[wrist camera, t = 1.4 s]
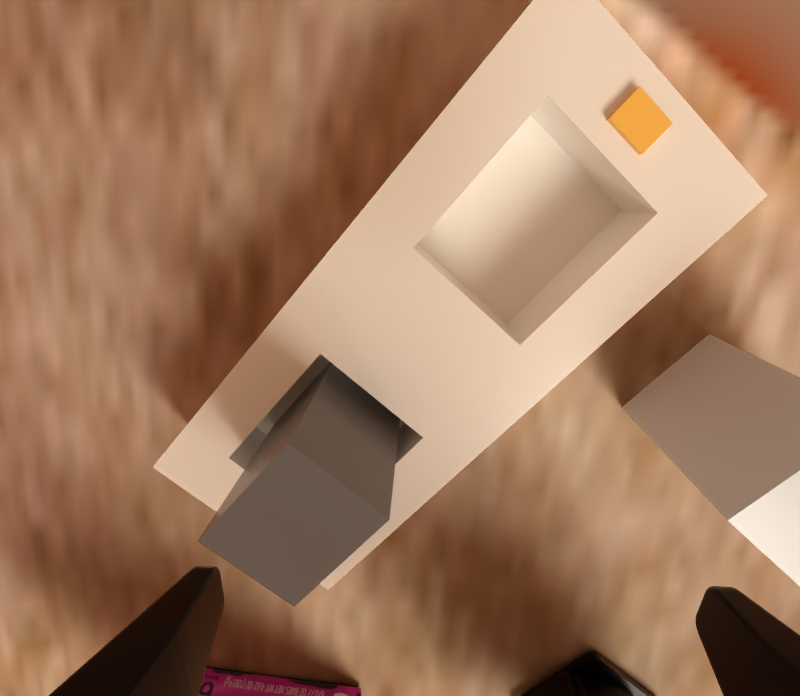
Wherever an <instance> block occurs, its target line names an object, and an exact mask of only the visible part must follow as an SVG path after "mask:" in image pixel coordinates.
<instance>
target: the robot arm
mask: <svg viewBox="0 0 800 696" xmlns="http://www.w3.org/2000/svg"><path fill="white" fill-rule="evenodd" d="M223 607H224V594H223V588H222V582H221V576H220V572H219V569H218V568H217V567H212V566H197V567H194V568H193V569H191V570H190V571H189V572H188V573H187V574H186V575H184V576H183V577H182V578H181V579H180V580H179V581H178V582H177V583H175V584H174V585H173V586H172V587H171V588H170V589H169V590H167V591H166V592H165V593H164V594H163V595H162V596H161V597H160V598H158V599H157V600H156V601H155V602H154V603H153V604H152V605H151V606H149V607H148V608H147V609H146V610H145V611H144V612H143V613H141V614H140V615H139V616H138V617H137V618H136V619H135V620H134V621H132V622H131V623H130V624H129V625H128V626H127V627H126V628H125V629H123V630H122V631H121V632H120V633H119V634H118V635H117V636H115V637H114V638H113V639H112V640H111V641H110V642H109V643H108V644H106V645H105V646H104V647H103V648H102V649H101V650H100V651H99V652H97V653H96V654H95V655H94V656H93V657H92V658H91V659H89V660H88V661H87V662H86V663H85V664H84V665H83V666H82V667H80V668H79V669H78V670H77V671H76V672H75V673H74V674H73V675H71V676H70V677H69V678H68V679H67V680H66V681H65V682H63V683H62V684H61V685H60V686H59V687H58V688H57V689H56V690H54V691H53V692H52V693H51V694H50V695H49V696H198V694H199V690H200V687H201V684H202V680H203V677H204V673H205V670H206V667H207V663H208V660H209V656H210V653H211V649H212V646H213V643H214V639H215V636H216V632H217V629H218V626H219V622H220V619H221V615H222V612H223ZM696 627H697V631H698V634H699V636H700V639H701V641H702V644H703V646H704V649H705V651H706V654H707V656H708V658H709V661H710V663H711V666H712V668H713V671H714V673H715V676H716V678H717V681H718V683H719V686H720V688H721V691H722V693H723V695H724V696H800V635H799V634H797V633H796V632H795V631H793V630H792V629H791V628H789V627H788V626H787V625H785V624H784V623H782V622H781V621H780V620H778V619H777V618H776V617H774V616H773V615H771V614H770V613H769V612H767V611H766V610H765V609H763V608H762V607H761V606H759V605H758V604H756V603H755V602H754V601H752V600H751V599H750V598H748V597H747V596H746V595H744V594H743V593H741V592H740V591H738V590H737V589H735V588H732V587H719V586H712V587H709V588H708V589H707V590H706V592H705V594H704V597H703V600H702V602H701V605H700V607H699V610H698V612H697V615H696ZM523 696H652V695H651V694H650V693H649V692H647V691H646V690H645V689H643V688H642V687H641V686H640V685H638V684H637V683H636V682H634V681H633V680H632V679H630V678H629V677H628V676H627V675H625V674H624V673H623V672H621V671H620V670H619V669H618V668H616V667H615V666H614V665H612V664H611V663H610V662H608V661H607V660H606V659H605V658H603V657H602V656H601V655H599V654H598V653H596V652H588V653H586V654H584V655H583V656H581V657H580V658H578V659H577V660H575V661H574V662H572V663H571V664H569V665H568V666H567V667H565V668H564V669H562V670H561V671H559V672H558V673H556V674H555V675H553V676H552V677H550V678H549V679H547V680H546V681H544V682H543V683H541V684H540V685H538V686H537V687H535V688H534V689H532V690H531V691H529V692H528V693H526V694H525V695H523Z"/></svg>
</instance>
